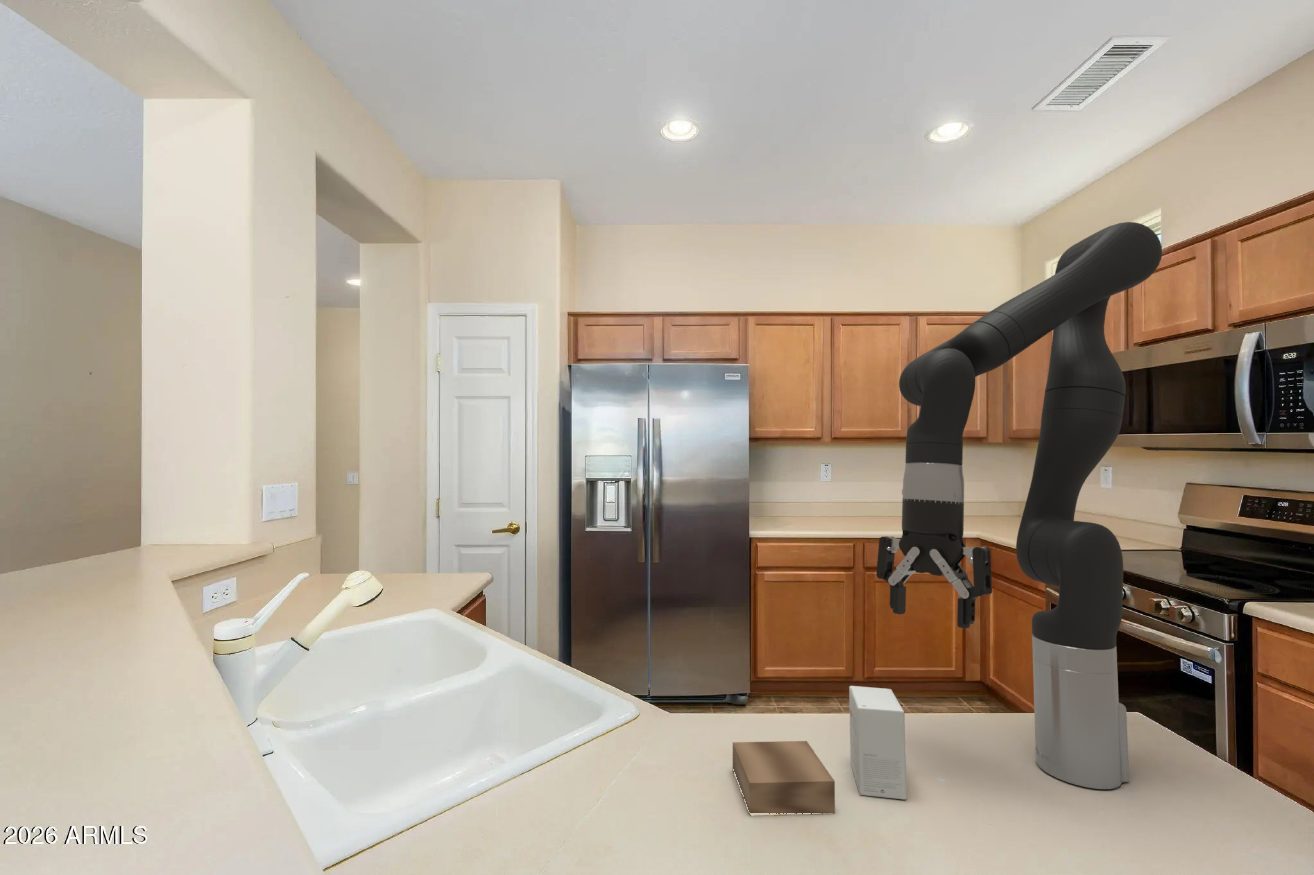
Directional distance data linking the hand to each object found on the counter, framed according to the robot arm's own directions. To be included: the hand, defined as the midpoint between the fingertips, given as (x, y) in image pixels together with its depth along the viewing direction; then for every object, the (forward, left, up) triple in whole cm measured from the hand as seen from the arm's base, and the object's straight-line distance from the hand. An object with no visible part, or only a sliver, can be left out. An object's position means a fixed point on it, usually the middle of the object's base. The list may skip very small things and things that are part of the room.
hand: (929, 620), depth 76 cm
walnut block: (+21, +3, -20) cm, 29 cm away
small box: (+8, +1, -20) cm, 22 cm away
